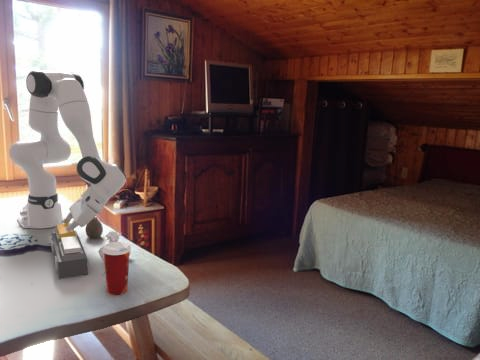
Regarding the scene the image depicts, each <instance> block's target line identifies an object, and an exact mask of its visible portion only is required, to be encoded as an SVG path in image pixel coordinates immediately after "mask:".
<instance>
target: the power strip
mask: <svg viewBox="0 0 480 360" xmlns="http://www.w3.org/2000/svg"><path fill="white" fill-rule="evenodd" d="M73 230H74V236H76V237H77V239H78V242H79V244H80V247H81V252H77V253H69V254H65V253H64V250H63V247H62V243H61V238H60V237H59V234H58V230H57V227H54V232H52V233H50V234H51V235H50V236H51V240H50V243H51V252H52V255H53V258H54V267H55V271H56V272H57V278H58V279H59V280H61V279H62V280H63V279H69V278H76V277H82V276H87V275H89V262H88V260H89V259H88V255H87V253H86V252H85V249H84V248H85V247H84V246H83V244H82V241H81V239H80V236H79V234H78V232H77V230H75V228H74V229H73Z"/></svg>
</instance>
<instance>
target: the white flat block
mask: <svg viewBox="0 0 480 360" xmlns="http://www.w3.org/2000/svg"><path fill="white" fill-rule="evenodd" d="M61 243H62V247H63V250H64V253H65V254H69V253H77V252H81V247H80V244H79V242H78V239H77V237H76V236H71V237H62V238H61Z"/></svg>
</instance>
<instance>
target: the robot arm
mask: <svg viewBox="0 0 480 360" xmlns="http://www.w3.org/2000/svg"><path fill="white" fill-rule="evenodd" d="M25 82H26V83H25V84H26V89H27V91H28V93H30V99H29V106H28V107H29V108H28V109H29V110H28V111H29V112H28V125H29V127H30V128H31V130H33V131H34V132H37V133H39V134H40V139H23V140H18V141H15V142H12V144H11V145H10V147H9V149H8V156H9V158H10V161H12V162H13V163H14V164H15V165H17V166H18V167H19V168H21V169H22V170H23V172H24V174H25V175H26V178H27V182H28V191H29V192H28V193H29V194H28V197H27V203H26V204H25V205H24V206H23V207H22V210H20V211H19V215H20V216H18V217H17V219H16V220H17V222H18V223H19V225H20V226H21V228H22V229H39V230H40V229H49V228H56V227H57V224H66V225H67V224H68V223H71V224H70V225H68V226H67V227H66V231H68V232H70V231H71V230H72V229H74V230H75V228H77V227H78V226H79V227H80V228H83V227H86V225H87V224H88V223H89V222H90V221H91V220H92V219H93V218H94V217H96V216H97V215H100V214H101V213H102V212H103V211H104V206H105V205H107V203H108V202H109V200H110V199H111V197H113V196H115V195H116V194H117V193H118V192H119V191H120V190H121V189H122V187H123V186H124V185H125V184H126V182H127V175H126V174H125V172H124V171H123V169H122V168H121V167H120V166H119V164H117V163H110V162H107V161H104V160H101V158H100V155H99V152H98V148H97V145H96V142H95V138H94V133H93V132H94V131H93V125H92V116H91V115H92V114H91V109H90V105H89V102H88V98H87V95H86V94H85V84H84V81H83V78H82V76H81V75H79V74H77V73H74V72H67V71H60V70H41V69H37V70H32V71H30V72H29V73H28V74H27V76H26V80H25ZM59 113H60V114H59ZM59 115H60V116H61V119H62V120H63V123H64V125H65V126H66V128H67V129H68V130H69V131H70V133H71V134H72V135H73V136H74V138H75V140H76V141H77V144H78V147H79V149H80V153H81V156H82V158H81V159H80V160H78V162H77V163H76V173H77V174H78V177H80V178H81V179H82V180H83V181H84V182H86V183H87V184H88V185H89V187H87V189H85V191H84V192H82V193H81V194H80V197H79V198H78V199H77V200H76V201H74V202H73V204H71V205H70V206H69V213H68V214H67V216H66V217H65V218H64V217H63V213H62V212H63V211H62V205H61V204H60V203H59V202H58V200H59V199H58V198H59V194H58V193H57V178H56V177H55V175H54V174H53V173H51V172H49V171H46V170H45V169H44V165H45V164H46V165H47V164H48V165H49V164H57V163H61V162H65V161H68V159H69V158H70V156H71V153H72V148H71V146H70V144H69V142H68V141H66V139H64V137H62V135H61V134H60V132H59V125H58V124H59V123H58V118H59V117H58V116H59ZM71 220H73V221H72V222H71Z"/></svg>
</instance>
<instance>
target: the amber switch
mask: <svg viewBox="0 0 480 360" xmlns="http://www.w3.org/2000/svg"><path fill="white" fill-rule="evenodd" d="M71 223H72V222H69V223H68V224H67V225H66V224H64V223H61V224H57V226H56V228H57V230H58V234H59V237H60V238H62V237H71V236H74V231H75V229H74V230H73V229H72V230H71V231H70V232H68V231H66V227H67V226H68V225H70V224H71Z"/></svg>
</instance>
